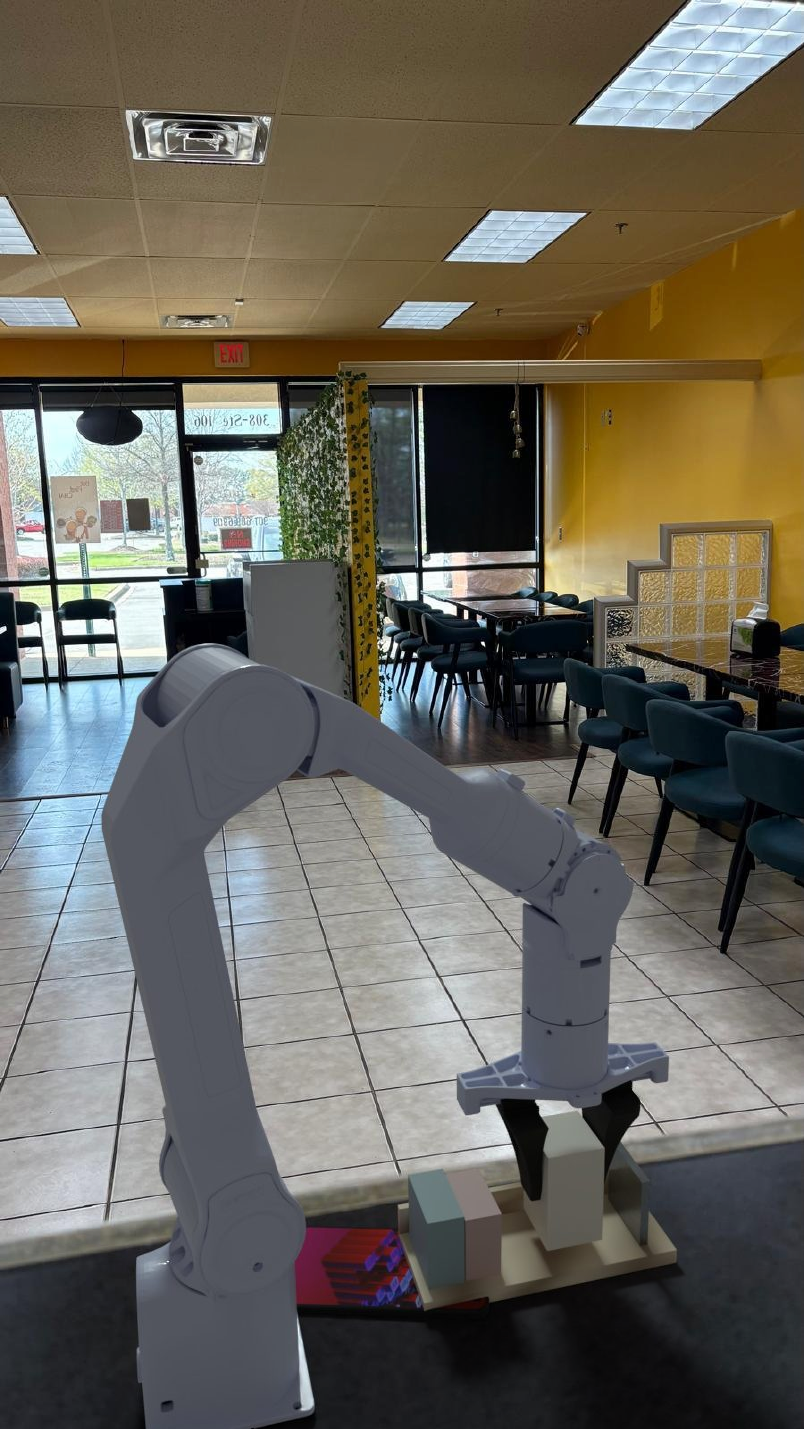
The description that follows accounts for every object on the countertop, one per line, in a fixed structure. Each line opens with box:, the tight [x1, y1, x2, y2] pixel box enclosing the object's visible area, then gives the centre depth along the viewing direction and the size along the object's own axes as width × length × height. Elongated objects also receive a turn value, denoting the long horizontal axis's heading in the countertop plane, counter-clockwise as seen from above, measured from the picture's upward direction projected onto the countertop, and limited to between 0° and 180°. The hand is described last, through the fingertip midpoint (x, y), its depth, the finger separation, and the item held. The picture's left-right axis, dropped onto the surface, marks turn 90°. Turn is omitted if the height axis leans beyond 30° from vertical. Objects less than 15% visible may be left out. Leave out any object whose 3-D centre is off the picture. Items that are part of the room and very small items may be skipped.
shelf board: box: [397, 1170, 678, 1311], centre depth 71 cm, size 18×7×3 cm, turn 104°
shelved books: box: [407, 1168, 502, 1290], centre depth 69 cm, size 5×5×5 cm
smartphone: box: [295, 1225, 490, 1320], centre depth 70 cm, size 8×1×15 cm
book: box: [524, 1110, 605, 1251], centre depth 70 cm, size 4×4×7 cm
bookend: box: [608, 1141, 651, 1246], centre depth 72 cm, size 1×5×5 cm, turn 14°
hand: (562, 1185), depth 70 cm, fingers closed on book, 4 cm apart
